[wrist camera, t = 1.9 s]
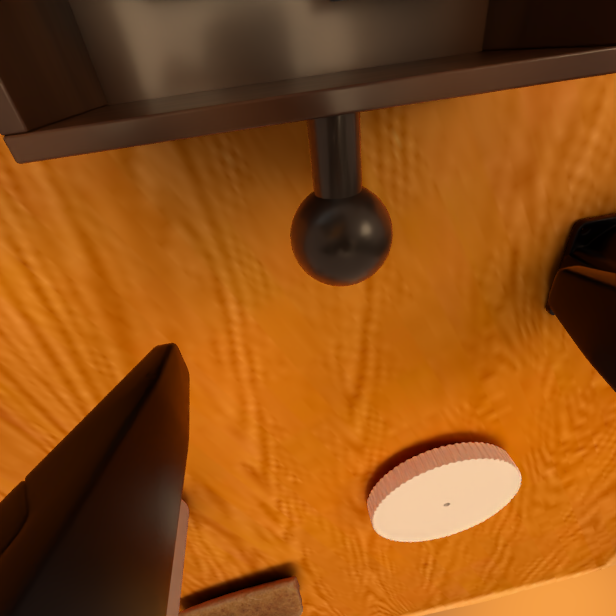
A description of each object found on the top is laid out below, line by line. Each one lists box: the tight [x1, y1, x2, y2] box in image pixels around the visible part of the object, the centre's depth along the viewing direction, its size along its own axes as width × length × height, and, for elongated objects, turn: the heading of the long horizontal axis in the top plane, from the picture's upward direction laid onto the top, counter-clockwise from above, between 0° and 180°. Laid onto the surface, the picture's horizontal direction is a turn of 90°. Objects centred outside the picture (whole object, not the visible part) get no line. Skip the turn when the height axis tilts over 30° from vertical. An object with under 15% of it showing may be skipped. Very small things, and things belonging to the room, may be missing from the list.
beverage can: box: [166, 499, 189, 616], centre depth 25 cm, size 6×6×12 cm
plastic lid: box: [367, 442, 522, 542], centre depth 34 cm, size 14×14×2 cm
